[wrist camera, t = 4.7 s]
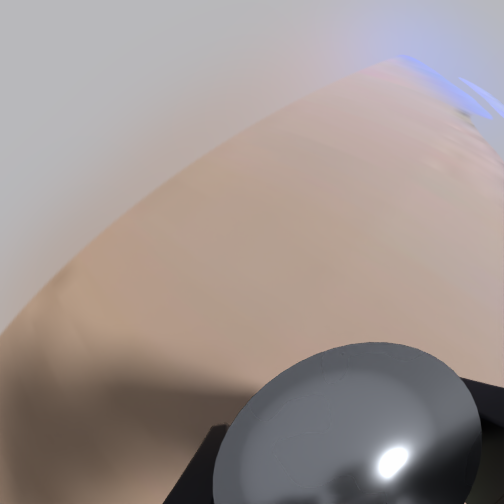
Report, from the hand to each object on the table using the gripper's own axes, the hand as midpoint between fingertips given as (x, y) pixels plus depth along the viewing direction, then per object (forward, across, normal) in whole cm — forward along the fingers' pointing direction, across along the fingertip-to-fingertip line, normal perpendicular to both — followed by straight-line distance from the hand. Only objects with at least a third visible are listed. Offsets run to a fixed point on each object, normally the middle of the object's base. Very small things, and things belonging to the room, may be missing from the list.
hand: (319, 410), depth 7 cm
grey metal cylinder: (+4, 0, +6) cm, 7 cm away
